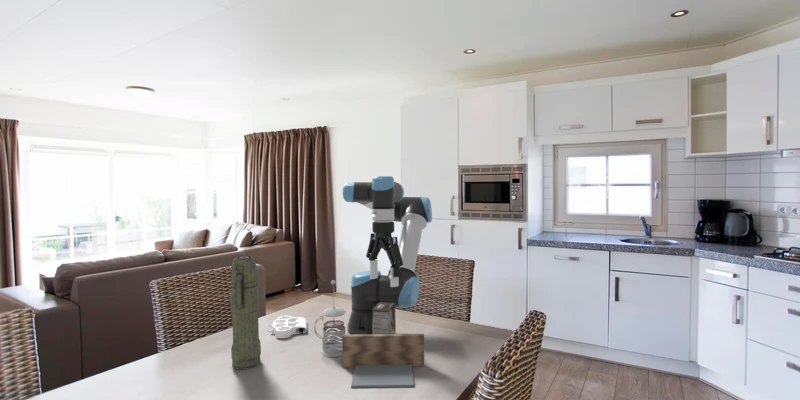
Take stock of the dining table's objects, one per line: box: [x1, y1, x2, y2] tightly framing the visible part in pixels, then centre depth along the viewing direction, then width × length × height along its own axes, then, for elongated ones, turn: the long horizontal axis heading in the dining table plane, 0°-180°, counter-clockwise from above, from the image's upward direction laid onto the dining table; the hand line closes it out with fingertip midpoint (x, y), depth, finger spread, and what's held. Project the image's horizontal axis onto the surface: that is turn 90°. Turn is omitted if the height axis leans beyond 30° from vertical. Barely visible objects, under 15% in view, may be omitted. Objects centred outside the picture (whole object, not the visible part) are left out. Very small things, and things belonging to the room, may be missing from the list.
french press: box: [313, 279, 346, 358], centre depth 140 cm, size 10×12×25 cm
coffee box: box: [372, 302, 397, 334], centre depth 139 cm, size 9×6×16 cm
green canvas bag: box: [229, 255, 262, 370], centre depth 130 cm, size 9×12×35 cm
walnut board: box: [341, 333, 425, 368], centre depth 128 cm, size 26×2×10 cm, turn 91°
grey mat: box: [350, 365, 415, 389], centre depth 122 cm, size 18×13×1 cm
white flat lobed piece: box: [268, 315, 308, 339], centre depth 161 cm, size 3×18×15 cm
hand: (383, 282), depth 138 cm, fingers open, 13 cm apart
